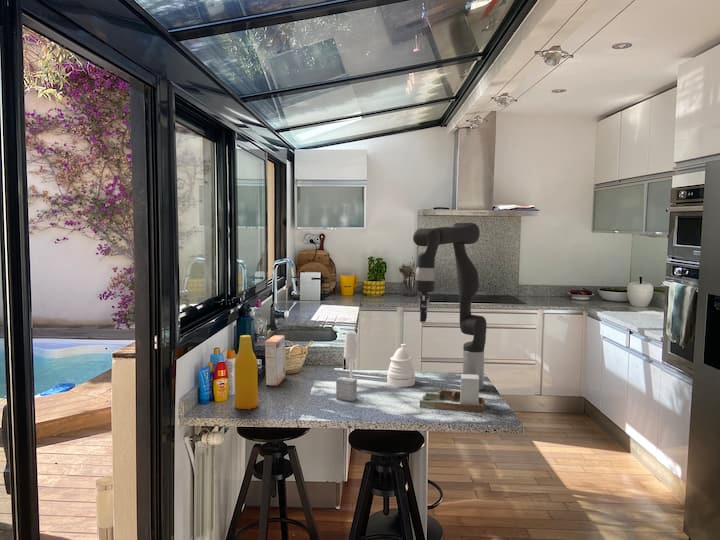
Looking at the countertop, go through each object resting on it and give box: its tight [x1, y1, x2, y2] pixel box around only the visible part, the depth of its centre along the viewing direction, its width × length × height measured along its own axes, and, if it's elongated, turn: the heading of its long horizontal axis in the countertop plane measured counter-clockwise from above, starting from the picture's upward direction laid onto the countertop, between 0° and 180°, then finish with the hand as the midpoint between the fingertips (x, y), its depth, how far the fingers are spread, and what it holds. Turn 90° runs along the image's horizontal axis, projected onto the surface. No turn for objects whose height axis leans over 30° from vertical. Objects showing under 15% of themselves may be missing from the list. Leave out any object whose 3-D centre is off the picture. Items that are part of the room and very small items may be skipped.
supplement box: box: [459, 373, 480, 406], centre depth 225 cm, size 7×7×13 cm
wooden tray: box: [419, 389, 486, 414], centre depth 230 cm, size 17×25×2 cm
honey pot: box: [386, 343, 416, 388], centre depth 259 cm, size 13×13×18 cm
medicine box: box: [335, 376, 358, 402], centre depth 236 cm, size 8×4×9 cm, turn 65°
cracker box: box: [264, 334, 286, 387], centre depth 261 cm, size 14×6×21 cm, turn 172°
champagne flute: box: [343, 331, 359, 386], centre depth 257 cm, size 7×7×24 cm
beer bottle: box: [233, 334, 259, 410], centre depth 225 cm, size 9×9×29 cm
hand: (423, 320), depth 218 cm, fingers open, 8 cm apart
